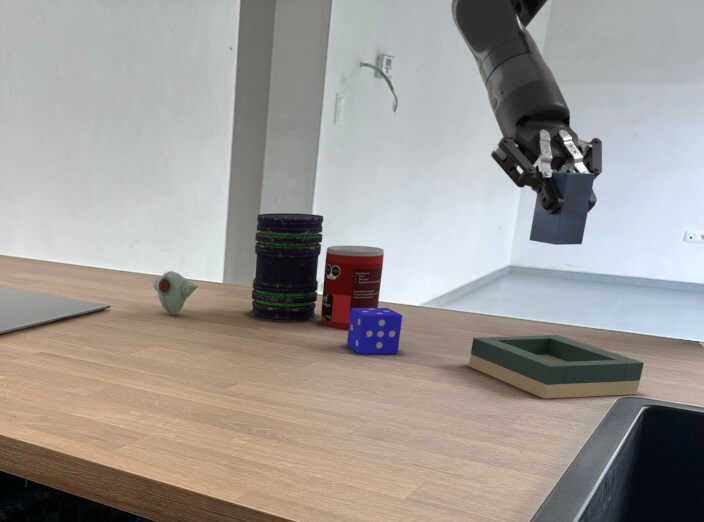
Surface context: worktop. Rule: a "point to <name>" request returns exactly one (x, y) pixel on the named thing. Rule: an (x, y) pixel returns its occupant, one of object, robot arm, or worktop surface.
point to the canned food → (350, 282)
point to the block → (564, 211)
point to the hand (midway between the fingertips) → (572, 209)
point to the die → (374, 330)
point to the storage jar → (286, 266)
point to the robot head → (173, 291)
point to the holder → (555, 366)
